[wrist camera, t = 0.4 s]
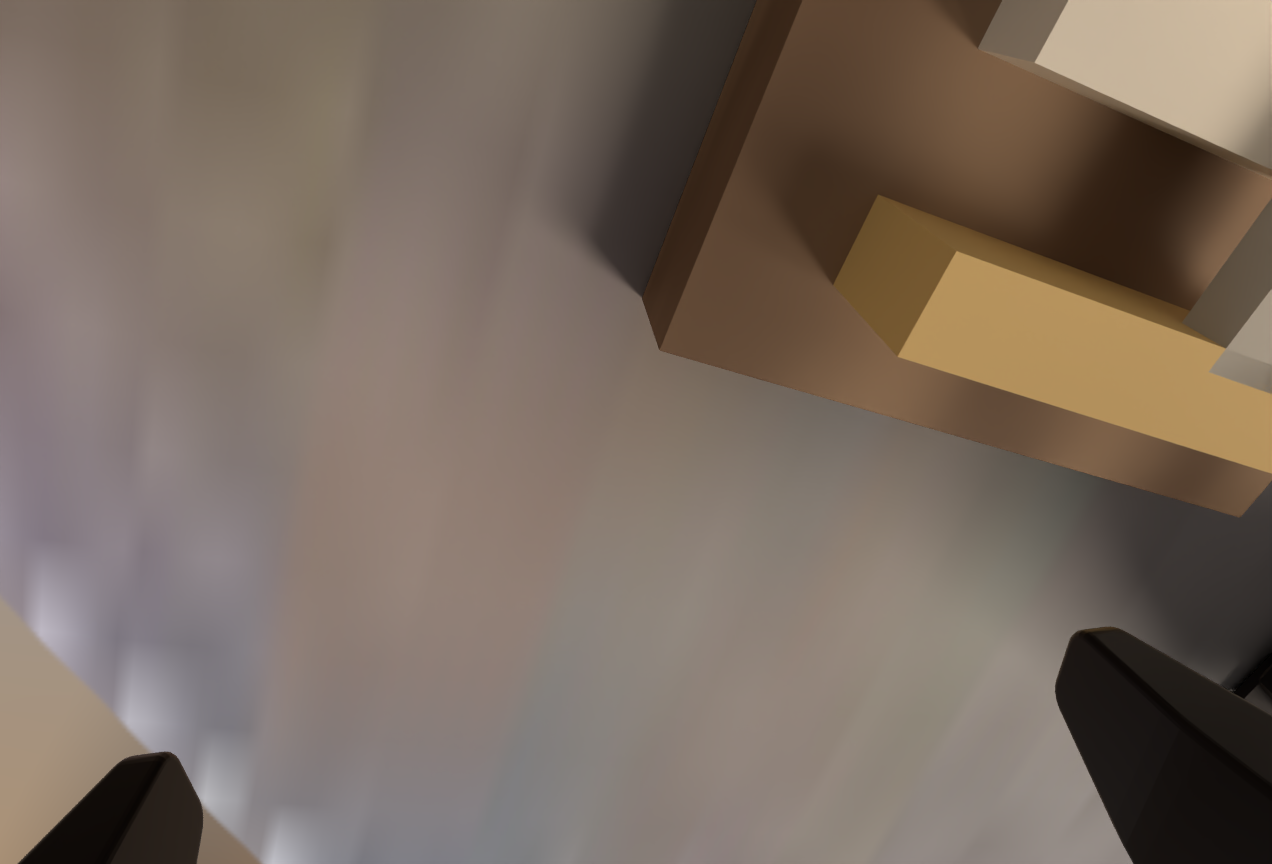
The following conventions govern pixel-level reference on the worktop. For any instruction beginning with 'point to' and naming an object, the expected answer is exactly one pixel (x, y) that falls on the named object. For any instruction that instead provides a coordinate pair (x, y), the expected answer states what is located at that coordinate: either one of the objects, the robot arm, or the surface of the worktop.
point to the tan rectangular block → (1075, 330)
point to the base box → (947, 188)
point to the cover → (1156, 64)
